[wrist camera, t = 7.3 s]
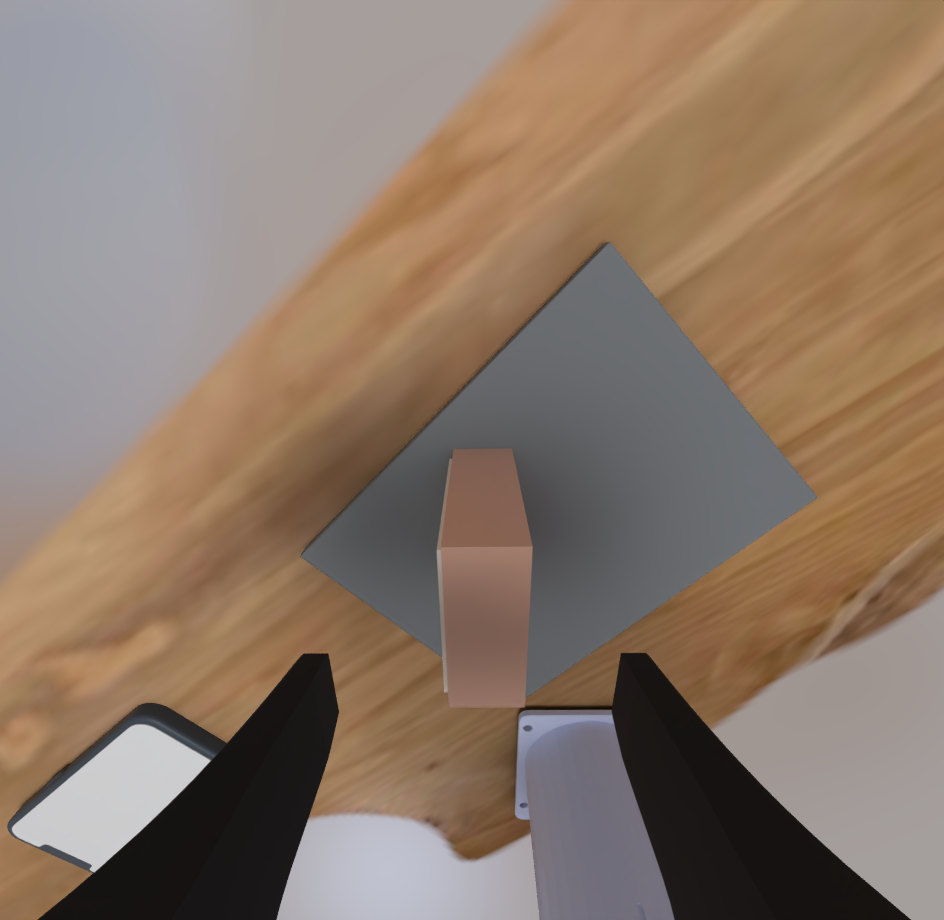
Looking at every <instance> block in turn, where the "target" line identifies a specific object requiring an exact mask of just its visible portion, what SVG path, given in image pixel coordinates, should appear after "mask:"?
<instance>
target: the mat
mask: <svg viewBox="0 0 944 920" xmlns="http://www.w3.org/2000/svg"><path fill="white" fill-rule="evenodd" d="M453 449H512V451H513V455H514V460H515V465H516V470H517V474H518V479H519V484H520V489H521V494H522V498H523V503H524V508H525V513H526V517H527V522H528V527H529V532H530V536H531V541H532V546H533V549H532V570H531V591H530V612H529V633H528V654H527V675H526V695H525V698H526V697H528V696H529V695H531V694H532V693H534V692H535V691H537V690H538V689H540V688H541V687H542V686H544V685H545V684H547V683H548V682H550V681H551V680H553V679H554V678H556V677H557V676H558V675H560V674H561V673H563V672H564V671H566V670H567V669H569V668H570V667H572V666H573V665H574V664H576V663H577V662H579V661H580V660H582V659H583V658H585V657H586V656H588V655H589V654H590V653H592V652H593V651H595V650H596V649H598V648H599V647H601V646H602V645H604V644H605V643H607V642H608V641H609V640H611V639H612V638H614V637H615V636H617V635H618V634H620V633H621V632H623V631H624V630H625V629H627V628H628V627H630V626H631V625H633V624H634V623H636V622H637V621H639V620H640V619H641V618H643V617H644V616H646V615H647V614H649V613H650V612H652V611H653V610H655V609H656V608H657V607H659V606H660V605H662V604H663V603H665V602H666V601H668V600H669V599H671V598H672V597H673V596H675V595H676V594H678V593H679V592H681V591H682V590H684V589H685V588H687V587H688V586H689V585H691V584H692V583H694V582H695V581H697V580H698V579H700V578H701V577H703V576H704V575H706V574H707V573H708V572H710V571H711V570H713V569H714V568H716V567H717V566H719V565H720V564H722V563H723V562H724V561H726V560H727V559H729V558H730V557H732V556H733V555H735V554H736V553H738V552H739V551H740V550H742V549H743V548H745V547H746V546H748V545H749V544H751V543H752V542H754V541H755V540H756V539H758V538H759V537H761V536H762V535H764V534H765V533H767V532H768V531H770V530H771V529H772V528H774V527H775V526H777V525H778V524H780V523H781V522H783V521H784V520H786V519H787V518H788V517H790V516H791V515H793V514H794V513H796V512H797V511H799V510H800V509H802V508H803V507H805V506H806V505H807V504H809V503H810V502H812V501H813V500H815V499H816V498H818V497H817V496H816V495H815V493H814V492H813V491H812V490H811V488H810V487H809V486H808V485H807V484H806V482H805V481H804V480H803V479H802V477H801V476H800V475H799V474H798V472H797V471H796V470H795V469H794V468H793V466H792V465H791V464H790V463H789V461H788V460H787V459H786V458H785V456H784V455H783V454H782V453H781V452H780V450H779V449H778V448H777V447H776V445H775V444H774V443H773V442H772V440H771V439H770V438H769V437H768V436H767V434H766V433H765V432H764V431H763V429H762V428H761V427H760V426H759V424H758V423H757V422H756V421H755V420H754V418H753V417H752V416H751V415H750V413H749V412H748V411H747V410H746V408H745V407H744V406H743V405H742V404H741V402H740V401H739V400H738V399H737V397H736V396H735V395H734V394H733V392H732V391H731V390H730V389H729V388H728V386H727V385H726V384H725V383H724V381H723V380H722V379H721V378H720V377H719V375H718V374H717V373H716V372H715V370H714V369H713V368H712V367H711V365H710V364H709V363H708V362H707V361H706V359H705V358H704V357H703V356H702V354H701V353H700V352H699V351H698V349H697V348H696V347H695V346H694V345H693V343H692V342H691V341H690V340H689V338H688V337H687V336H686V335H685V333H684V332H683V331H682V330H681V329H680V327H679V326H678V325H677V324H676V322H675V321H674V320H673V319H672V317H671V316H670V315H669V314H668V313H667V311H666V310H665V309H664V308H663V306H662V305H661V304H660V303H659V301H658V300H657V299H656V298H655V297H654V295H653V294H652V293H651V292H650V290H649V289H648V288H647V287H646V286H645V284H644V283H643V282H642V281H641V279H640V278H639V277H638V276H637V274H636V273H635V272H634V271H633V270H632V268H631V267H630V266H629V265H628V263H627V262H626V261H625V260H624V258H623V257H622V256H621V255H620V254H619V252H618V251H617V250H616V249H615V247H614V246H613V245H612V244H611V242H608V243H605V244H604V245H603V246H602V247H601V248H600V249H599V250H598V251H597V252H596V253H595V254H594V255H593V256H592V257H591V258H590V259H589V260H588V261H587V262H586V263H585V264H584V265H583V266H582V267H581V268H580V269H579V270H578V271H577V272H576V273H575V274H574V275H573V276H572V277H571V278H570V279H569V280H568V282H567V283H566V284H565V285H564V286H563V287H562V288H561V289H560V290H559V291H558V292H557V293H556V294H555V295H554V296H553V297H552V298H551V299H550V300H549V301H548V302H547V303H546V304H545V305H544V306H543V307H542V308H541V309H540V310H539V311H538V312H537V313H536V314H535V315H534V316H533V317H532V318H531V319H530V320H529V321H528V322H527V323H526V324H525V325H524V326H523V327H522V328H521V329H520V330H519V331H518V332H517V333H516V334H515V335H514V336H513V338H512V339H511V340H510V341H509V342H508V343H507V344H506V345H505V346H504V347H503V348H502V349H501V350H500V351H499V352H498V353H497V354H496V355H495V356H494V357H493V358H492V359H491V360H490V361H489V362H488V363H487V364H486V365H485V366H484V367H483V368H482V369H481V370H480V371H479V372H478V373H477V374H476V375H475V376H474V377H473V378H472V379H471V380H470V381H469V382H468V383H467V384H466V385H465V386H464V387H463V388H462V389H461V390H460V391H459V393H458V394H457V395H456V396H455V397H454V398H453V399H452V400H451V401H450V402H449V403H448V404H447V405H446V406H445V407H444V408H443V409H442V410H441V411H440V412H439V413H438V414H437V415H436V416H435V417H434V418H433V419H432V420H431V421H430V422H429V423H428V424H427V425H426V426H425V427H424V428H423V429H422V430H421V431H420V432H419V433H418V434H417V435H416V436H415V437H414V438H413V439H412V440H411V441H410V442H409V443H408V444H407V445H406V446H405V447H404V449H403V450H402V451H401V452H400V453H399V454H398V455H397V456H396V457H395V458H394V459H393V460H392V461H391V462H390V463H389V464H388V465H387V466H386V467H385V468H384V469H383V470H382V471H381V472H380V473H379V474H378V475H377V476H376V477H375V478H374V479H373V480H372V481H371V482H370V483H369V484H368V485H367V486H366V487H365V488H364V489H363V490H362V491H361V492H360V493H359V494H358V495H357V496H356V497H355V498H354V499H353V500H352V501H351V502H350V504H349V505H348V506H347V507H346V508H345V509H344V510H343V511H342V512H341V513H340V514H339V515H338V516H337V517H336V518H335V519H334V520H333V521H332V522H331V523H330V524H329V525H328V526H327V527H326V528H325V529H324V530H323V531H322V532H321V533H320V534H319V535H318V536H317V537H316V538H315V539H314V540H313V541H312V542H311V543H310V544H309V545H308V546H307V547H306V548H305V550H304V551H303V553H302V554H301V556H300V557H302V558H303V559H305V560H306V561H307V562H309V563H310V564H312V565H313V566H314V567H316V568H317V569H319V570H320V571H321V572H323V573H324V574H326V575H327V576H328V577H330V578H331V579H333V580H334V581H335V582H337V583H338V584H340V585H341V586H342V587H344V588H345V589H347V590H348V591H349V592H351V593H352V594H354V595H355V596H356V597H358V598H359V599H361V600H362V601H364V602H365V603H366V604H368V605H369V606H371V607H372V608H373V609H375V610H376V611H378V612H379V613H380V614H382V615H383V616H385V617H386V618H387V619H389V620H390V621H392V622H393V623H394V624H396V625H397V626H399V627H400V628H401V629H403V630H404V631H406V632H407V633H408V634H410V635H411V636H413V637H414V638H415V639H417V640H418V641H420V642H421V643H422V644H424V645H425V646H427V647H428V648H429V649H431V650H432V651H434V652H435V653H436V654H438V655H439V656H441V657H442V641H441V622H440V604H439V585H438V567H437V544H438V537H439V530H440V523H441V516H442V509H443V501H444V494H445V487H446V480H447V473H448V466H449V459H452V456H453Z"/></svg>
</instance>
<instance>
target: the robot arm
mask: <svg viewBox="0 0 944 920" xmlns="http://www.w3.org/2000/svg"><path fill="white" fill-rule="evenodd" d="M338 714H339V709H338V704H337V698H336V693H335V688H334V682H333V677H332V671H331V666H330V660H329V655H328V654H303V655H302V656H301V657H300V658H299V659H298V660H297V661H296V663H295V664H294V665H293V666H292V667H291V669H290V670H289V671H288V672H287V674H286V675H285V676H284V677H283V679H282V680H281V681H280V682H279V683H278V685H277V686H276V687H275V688H274V690H273V691H272V692H271V693H270V694H269V695H268V697H267V698H266V699H265V700H264V701H263V703H262V704H261V705H260V706H259V707H258V709H257V710H256V711H255V712H254V713H253V714H252V715H251V717H250V718H249V719H248V720H247V721H246V722H245V724H244V725H243V726H242V727H241V728H240V729H239V730H238V732H237V733H236V734H235V735H234V736H233V737H232V738H231V739H230V741H229V742H228V743H227V744H226V745H225V746H224V747H223V748H222V749H221V750H220V751H219V752H218V754H217V755H216V756H215V757H214V758H213V759H212V760H211V761H210V762H209V763H208V764H207V765H206V766H205V767H204V768H203V770H202V771H201V772H200V773H199V774H198V775H197V776H196V777H195V778H194V779H193V780H192V781H191V782H190V783H189V784H188V785H187V786H186V787H185V788H184V789H183V790H182V791H181V792H180V793H179V794H178V795H177V796H176V797H175V798H174V799H173V800H172V801H171V802H170V803H169V804H168V805H167V806H166V807H165V808H164V809H163V810H162V811H161V812H160V813H159V814H158V815H157V816H156V817H155V818H154V819H153V820H152V821H150V822H149V823H148V824H147V825H146V826H145V827H144V828H143V829H142V830H141V831H140V832H139V833H138V834H137V835H136V836H134V837H133V838H132V839H131V840H130V841H129V842H128V843H127V844H126V845H124V846H123V847H122V848H121V849H120V850H119V851H118V852H117V853H116V854H114V855H113V856H112V857H111V858H110V859H109V860H108V861H107V862H106V863H104V864H103V865H102V866H101V867H100V868H99V869H98V870H96V871H95V872H94V873H93V874H92V875H91V876H90V877H88V878H87V879H86V880H85V881H84V882H83V883H81V884H80V885H79V886H78V887H77V888H76V889H74V890H73V891H72V892H71V893H70V894H68V895H67V896H66V897H65V898H64V899H62V900H61V901H60V902H59V903H57V904H56V905H55V906H54V907H52V908H51V909H50V910H49V911H48V912H46V913H45V914H44V915H43V916H41V917H40V918H39V919H38V920H276V919H277V915H278V911H279V907H280V904H281V900H282V897H283V893H284V890H285V887H286V883H287V880H288V877H289V874H290V871H291V868H292V864H293V862H294V859H295V856H296V852H297V850H298V847H299V844H300V841H301V838H302V835H303V832H304V829H305V826H306V823H307V820H308V818H309V815H310V812H311V809H312V806H313V803H314V800H315V797H316V794H317V791H318V788H319V785H320V782H321V779H322V776H323V773H324V770H325V767H326V764H327V761H328V757H329V753H330V749H331V745H332V741H333V736H334V732H335V727H336V723H337V718H338ZM515 815H516V817H517V818H519V819H530V828H531V838H532V848H533V858H534V868H535V878H536V888H537V898H538V908H539V918H540V920H911V919H909V918H908V917H907V916H906V915H905V914H904V913H902V912H901V911H900V910H899V909H898V908H896V907H895V906H894V905H893V904H892V903H891V902H889V901H888V900H887V899H886V898H884V897H883V896H882V895H881V894H880V893H879V892H878V891H876V890H875V889H874V888H873V887H872V886H871V885H869V884H868V883H867V882H866V881H865V880H863V879H862V878H861V877H860V876H859V875H857V874H856V873H855V872H854V871H853V870H852V869H850V868H849V867H848V866H847V865H845V863H843V862H842V861H841V860H840V859H839V858H838V857H837V856H836V855H835V854H833V853H832V852H831V851H830V850H829V849H828V848H827V847H826V846H825V845H823V843H821V842H820V841H819V840H818V839H817V838H816V837H815V836H814V835H813V834H812V833H811V832H809V831H808V830H807V829H806V828H805V827H804V826H803V825H802V824H801V823H800V822H799V821H798V820H797V819H796V818H795V817H794V816H793V815H792V814H791V813H789V812H788V811H787V810H786V809H785V808H784V807H783V806H782V805H781V804H780V803H779V802H778V801H777V800H776V799H775V798H774V797H773V796H772V795H771V794H770V793H769V792H768V791H767V790H766V789H765V788H764V787H763V786H762V785H761V784H760V783H759V782H758V781H757V780H756V778H755V777H754V776H753V775H752V774H751V773H750V772H749V771H748V770H747V769H746V768H745V767H744V766H743V765H742V764H741V763H740V762H739V761H738V760H737V758H736V757H735V756H734V755H733V754H732V753H731V752H730V751H729V750H728V749H727V748H726V747H725V745H724V744H723V743H722V742H721V741H720V740H719V739H718V737H717V736H716V735H715V734H714V733H713V732H712V731H711V730H710V728H709V727H708V726H707V725H706V724H705V723H704V722H703V721H702V719H701V718H700V717H699V716H698V715H697V714H696V712H695V711H694V710H693V709H692V708H691V707H690V705H689V704H688V703H687V702H686V701H685V699H684V698H683V697H682V696H681V695H680V693H679V692H678V691H677V690H676V689H675V687H674V686H673V685H672V684H671V682H670V681H669V680H668V679H667V677H666V676H665V675H664V674H663V673H662V671H661V670H660V669H659V668H658V666H657V665H656V664H655V663H654V661H653V660H652V659H651V658H650V656H649V655H648V654H647V653H621V657H620V663H619V669H618V675H617V681H616V687H615V693H614V699H613V705H612V710H524V711H522V712H521V713H520V714H519V717H518V741H517V766H516V791H515Z"/></svg>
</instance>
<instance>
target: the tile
mask: <svg viewBox="0 0 944 920" xmlns="http://www.w3.org/2000/svg"><path fill="white" fill-rule="evenodd" d="M532 549H533V546H532V541H531V536H530V532H529V527H528V522H527V517H526V513H525V508H524V503H523V498H522V494H521V489H520V484H519V479H518V474H517V470H516V465H515V460H514V455H513V451H512V449H453V456H452V459H449V466H448V473H447V480H446V487H445V494H444V501H443V509H442V516H441V523H440V530H439V537H438V544H437V567H438V585H439V604H440V622H441V641H442V660H443V678H444V692H448V702H449V708H472V707H525V695H526V675H527V654H528V633H529V612H530V591H531V570H532Z"/></svg>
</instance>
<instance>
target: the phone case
mask: <svg viewBox="0 0 944 920" xmlns="http://www.w3.org/2000/svg"><path fill="white" fill-rule="evenodd" d="M226 744H227V743H226V742H224V741H222V740H221V739H219V738H217V737H216V736H214V735H212V734H211V733H209V732H208V731H206V730H204V729H203V728H201V727H199V726H198V725H196V724H194V723H193V722H191V721H189V720H188V719H186V718H185V717H183V716H181V715H180V714H178V713H176V712H175V711H173V710H171V709H170V708H168V707H166V706H163V705H160V704H155V703H146V704H142V705H139V706H138V707H137V708H135V709H134V710H133V711H132V712H131V713H129V714H128V715H127V716H126V717H125V718H124V719H122V720H121V721H120V722H119V723H118V724H117V725H115V726H114V727H113V728H112V729H111V730H109V731H108V732H107V733H106V734H105V735H104V736H102V737H101V738H100V739H99V740H98V741H97V742H95V743H94V744H93V745H92V746H91V747H89V748H88V749H87V750H86V751H85V752H84V753H82V754H81V755H80V756H79V757H78V758H77V759H76V760H74V761H73V762H72V763H71V764H70V765H69V766H67V767H65V768H63V769H62V770H61V771H60V772H59V773H58V774H56V775H55V776H54V777H53V778H52V779H51V780H50V781H49V782H48V783H47V784H46V785H45V786H44V787H43V788H42V789H41V790H40V791H38V792H37V793H36V794H35V795H34V796H33V797H31V798H30V799H29V800H28V801H27V802H26V803H24V804H23V805H22V807H21V808H20V809H19V810H18V811H17V812H16V814H15V815H14V816H13V817H12V818H11V820H10V821H9V822H8V826H7V827H8V831H9V832H10V834H11V835H12V836H14V837H15V838H17V839H19V840H21V841H23V842H25V843H27V844H30V845H32V846H34V847H36V848H38V849H41V850H43V851H45V852H47V853H50V854H52V855H54V856H56V857H58V858H61V859H63V860H65V861H67V862H69V863H72V864H74V865H76V866H78V867H80V868H83V869H85V870H87V871H89V872H92V873H94V872H95V871H96V870H98V869H99V868H100V867H101V866H102V865H103V864H104V863H106V862H107V861H108V860H109V859H110V858H111V857H112V856H113V855H114V854H116V853H117V852H118V851H119V850H120V849H121V848H122V847H123V846H124V845H126V844H127V843H128V842H129V841H130V840H131V839H132V838H133V837H134V836H136V835H137V834H138V833H139V832H140V831H141V830H142V829H143V828H144V827H145V826H146V825H147V824H148V823H149V822H150V821H152V820H153V819H154V818H155V817H156V816H157V815H158V814H159V813H160V812H161V811H162V810H163V809H164V808H165V807H166V806H167V805H168V804H169V803H170V802H171V801H172V800H173V799H174V798H175V797H176V796H177V795H178V794H179V793H180V792H181V791H182V790H183V789H184V788H185V787H186V786H187V785H188V784H189V783H190V782H191V781H192V780H193V779H194V778H195V777H196V776H197V775H198V774H199V773H200V772H201V771H202V770H203V768H204V767H205V766H206V765H207V764H208V763H209V762H210V761H211V760H212V759H213V758H214V757H215V756H216V755H217V754H218V752H219V751H220V750H221V749H222V748H223V747H224V746H225V745H226Z"/></svg>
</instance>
